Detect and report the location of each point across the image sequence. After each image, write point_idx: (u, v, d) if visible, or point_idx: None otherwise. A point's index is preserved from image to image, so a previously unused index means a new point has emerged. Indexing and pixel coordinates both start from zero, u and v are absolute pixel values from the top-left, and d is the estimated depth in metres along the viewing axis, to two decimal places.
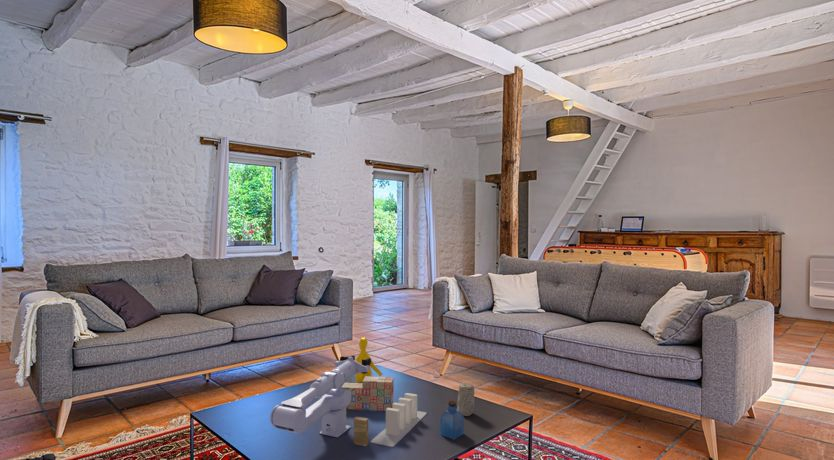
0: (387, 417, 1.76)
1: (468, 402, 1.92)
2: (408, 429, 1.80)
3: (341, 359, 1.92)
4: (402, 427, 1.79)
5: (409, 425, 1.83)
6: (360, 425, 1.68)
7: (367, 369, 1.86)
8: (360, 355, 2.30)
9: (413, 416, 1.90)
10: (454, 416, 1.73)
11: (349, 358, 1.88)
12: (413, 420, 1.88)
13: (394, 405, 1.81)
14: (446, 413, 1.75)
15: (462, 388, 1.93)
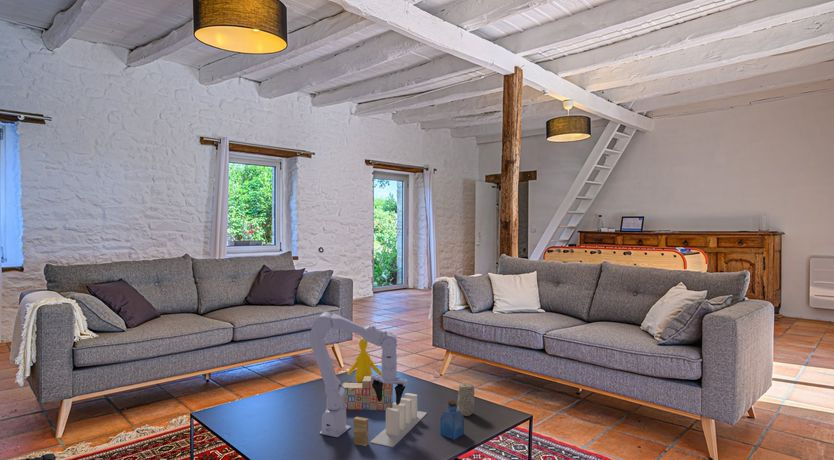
0: (387, 417, 1.76)
1: (468, 402, 1.92)
2: (408, 429, 1.80)
3: (400, 386, 1.76)
4: (402, 427, 1.79)
5: (409, 425, 1.83)
6: (360, 425, 1.68)
7: None
8: (360, 355, 2.30)
9: (413, 416, 1.90)
10: (454, 416, 1.73)
11: (385, 380, 1.76)
12: (413, 420, 1.88)
13: (394, 405, 1.81)
14: (446, 413, 1.75)
15: (462, 388, 1.93)
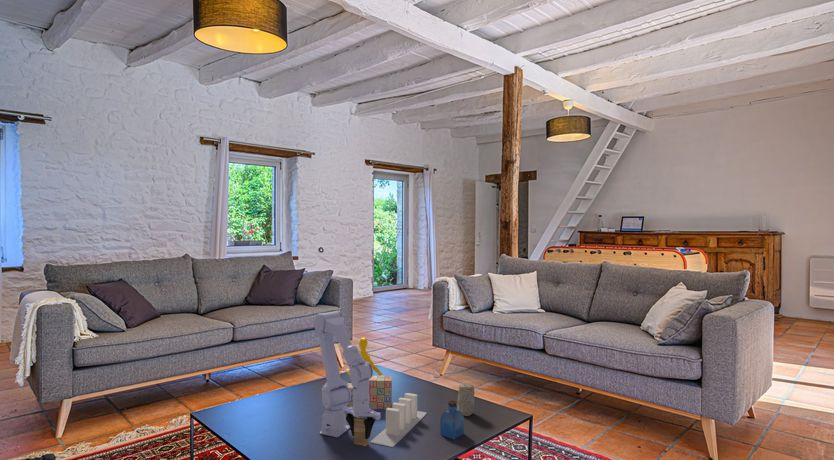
0: (387, 417, 1.76)
1: (468, 402, 1.92)
2: (408, 429, 1.80)
3: (369, 420, 1.65)
4: (402, 427, 1.79)
5: (409, 425, 1.83)
6: (360, 425, 1.68)
7: None
8: None
9: (413, 416, 1.90)
10: (454, 416, 1.73)
11: (356, 414, 1.65)
12: (413, 420, 1.88)
13: (394, 405, 1.81)
14: (446, 413, 1.75)
15: (462, 388, 1.93)
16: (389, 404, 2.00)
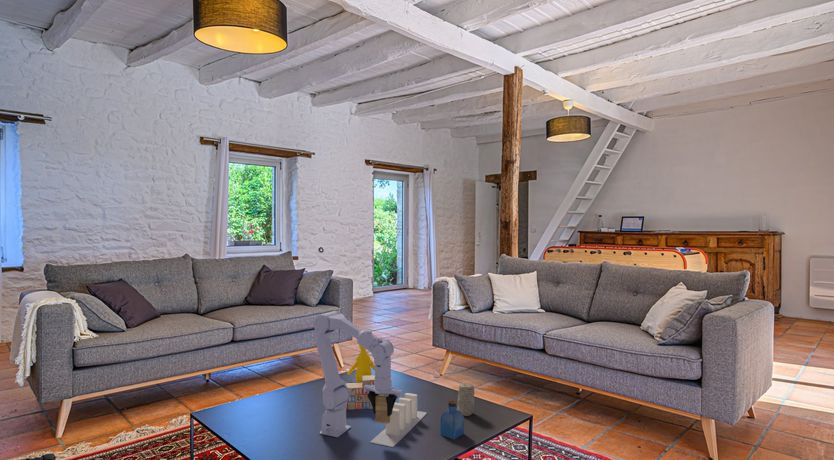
0: None
1: (468, 402, 1.92)
2: (408, 429, 1.80)
3: (391, 397, 1.67)
4: (402, 427, 1.79)
5: (409, 425, 1.83)
6: (382, 403, 1.69)
7: None
8: (360, 355, 2.30)
9: (413, 416, 1.90)
10: (454, 416, 1.73)
11: (378, 391, 1.67)
12: (413, 420, 1.88)
13: (394, 405, 1.81)
14: (446, 413, 1.75)
15: (462, 388, 1.93)
16: None
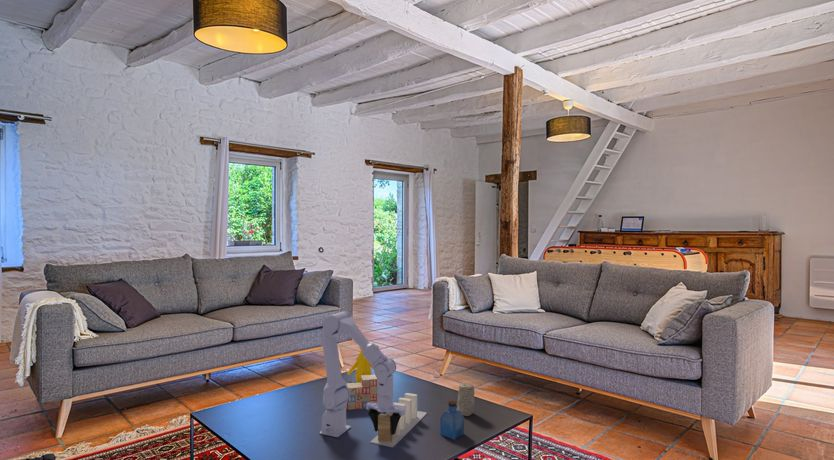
0: None
1: (468, 402, 1.92)
2: (408, 429, 1.80)
3: (395, 416, 1.67)
4: (402, 427, 1.79)
5: (409, 425, 1.83)
6: (384, 422, 1.69)
7: None
8: (360, 355, 2.30)
9: (413, 416, 1.90)
10: (454, 416, 1.73)
11: (381, 410, 1.67)
12: (413, 420, 1.88)
13: None
14: (446, 413, 1.75)
15: (462, 388, 1.93)
16: None
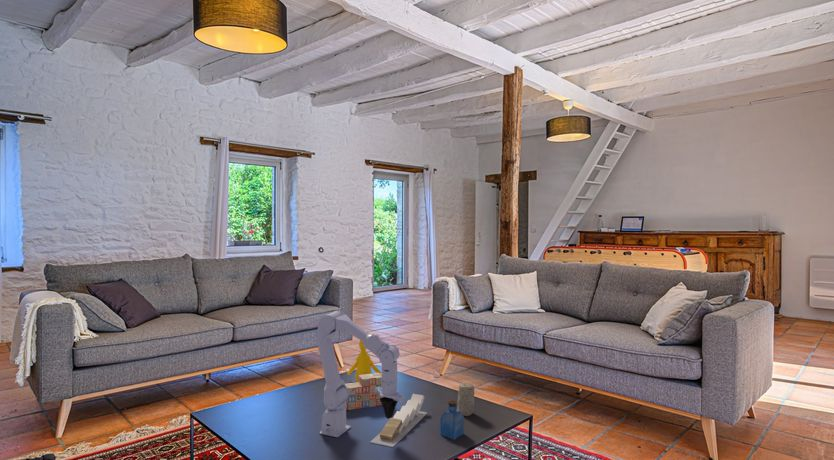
0: (395, 416, 1.82)
1: (468, 402, 1.92)
2: (408, 429, 1.80)
3: (389, 400, 1.71)
4: None
5: (409, 425, 1.83)
6: (394, 422, 1.77)
7: None
8: (360, 355, 2.30)
9: None
10: (454, 416, 1.73)
11: (382, 394, 1.70)
12: (413, 420, 1.88)
13: (404, 406, 1.89)
14: (446, 413, 1.75)
15: (462, 388, 1.93)
16: None
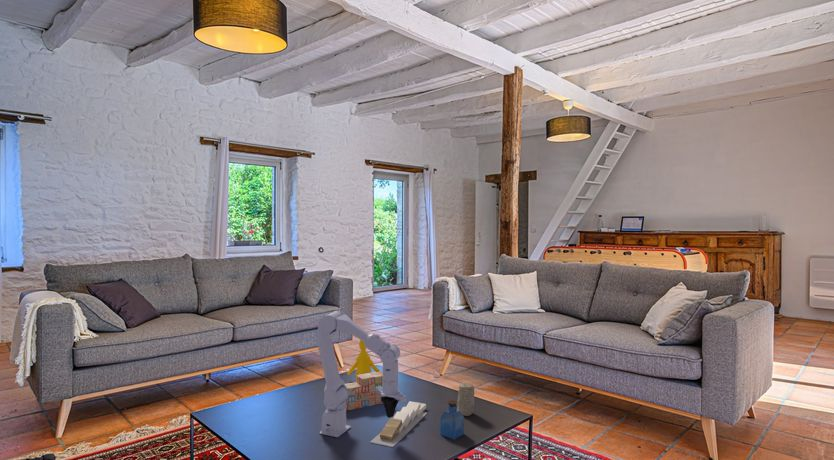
0: (395, 416, 1.82)
1: (468, 402, 1.92)
2: (408, 429, 1.80)
3: (390, 399, 1.71)
4: None
5: (409, 425, 1.83)
6: (394, 422, 1.77)
7: None
8: (360, 355, 2.30)
9: None
10: (454, 416, 1.73)
11: (383, 394, 1.71)
12: (413, 420, 1.88)
13: (404, 407, 1.89)
14: (446, 413, 1.75)
15: (462, 388, 1.93)
16: None
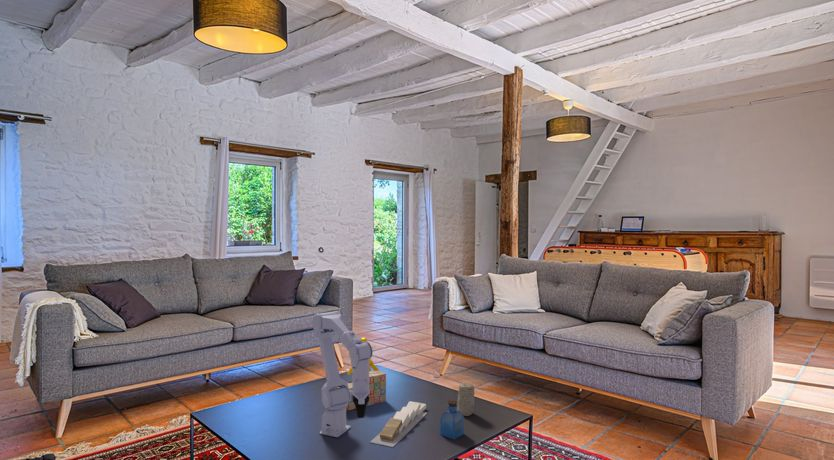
0: (395, 416, 1.82)
1: (468, 402, 1.92)
2: (408, 429, 1.80)
3: (356, 399, 1.64)
4: None
5: (409, 425, 1.83)
6: (394, 422, 1.77)
7: None
8: None
9: None
10: (454, 416, 1.73)
11: (350, 391, 1.65)
12: (413, 420, 1.88)
13: (404, 407, 1.89)
14: (446, 413, 1.75)
15: (462, 388, 1.93)
16: (384, 396, 2.08)
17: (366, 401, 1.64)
